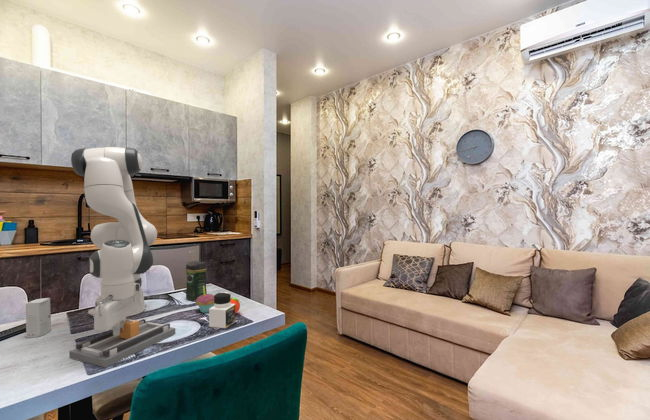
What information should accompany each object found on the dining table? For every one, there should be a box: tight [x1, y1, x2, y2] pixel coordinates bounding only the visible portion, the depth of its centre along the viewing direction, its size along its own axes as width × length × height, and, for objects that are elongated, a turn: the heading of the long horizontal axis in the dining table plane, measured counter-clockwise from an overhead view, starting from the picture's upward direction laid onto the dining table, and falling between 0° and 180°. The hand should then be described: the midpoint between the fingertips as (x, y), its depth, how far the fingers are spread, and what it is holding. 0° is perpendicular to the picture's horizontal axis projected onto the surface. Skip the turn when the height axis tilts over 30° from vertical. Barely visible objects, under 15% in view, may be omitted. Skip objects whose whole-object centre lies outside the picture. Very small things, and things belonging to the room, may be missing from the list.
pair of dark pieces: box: [75, 318, 171, 356], centre depth 98 cm, size 13×22×1 cm, turn 159°
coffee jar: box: [185, 260, 208, 302], centre depth 148 cm, size 10×8×19 cm
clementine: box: [230, 297, 243, 315], centre depth 126 cm, size 8×7×7 cm
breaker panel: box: [68, 321, 176, 368], centre depth 98 cm, size 16×24×4 cm, turn 159°
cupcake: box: [195, 285, 215, 314], centre depth 130 cm, size 9×8×12 cm
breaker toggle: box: [120, 318, 140, 339], centre depth 99 cm, size 5×3×6 cm, turn 69°
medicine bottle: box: [208, 291, 236, 329], centre depth 115 cm, size 7×7×12 cm
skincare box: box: [25, 297, 52, 339], centre depth 107 cm, size 6×4×12 cm
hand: (118, 334), depth 96 cm, fingers closed
